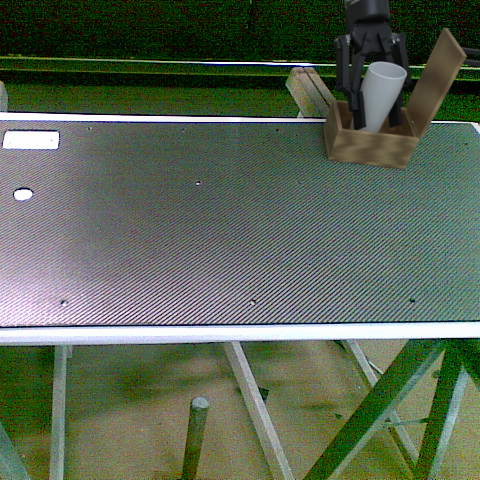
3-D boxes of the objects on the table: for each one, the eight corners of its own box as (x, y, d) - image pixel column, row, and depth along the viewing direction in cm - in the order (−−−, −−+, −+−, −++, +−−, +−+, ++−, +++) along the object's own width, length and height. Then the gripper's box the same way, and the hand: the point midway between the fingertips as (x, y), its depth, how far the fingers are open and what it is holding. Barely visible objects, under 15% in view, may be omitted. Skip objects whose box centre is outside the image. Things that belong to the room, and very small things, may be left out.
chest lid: (462, 55, 76) (525, 63, 75) (443, 27, 84) (500, 34, 83) (419, 137, 86) (473, 145, 86) (405, 105, 94) (455, 112, 94)
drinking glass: (363, 129, 98) (391, 59, 88) (383, 148, 94) (416, 76, 83) (335, 134, 97) (360, 63, 86) (354, 153, 92) (384, 80, 81)
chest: (328, 160, 93) (338, 130, 88) (323, 128, 101) (332, 99, 96) (404, 169, 91) (420, 139, 87) (393, 137, 100) (406, 107, 95)
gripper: (400, 12, 94) (411, 128, 94) (307, 15, 91) (319, 135, 91) (427, -8, 86) (439, 118, 87) (327, -5, 83) (340, 126, 84)
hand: (378, 127), depth 89 cm, fingers closed on drinking glass, 7 cm apart
